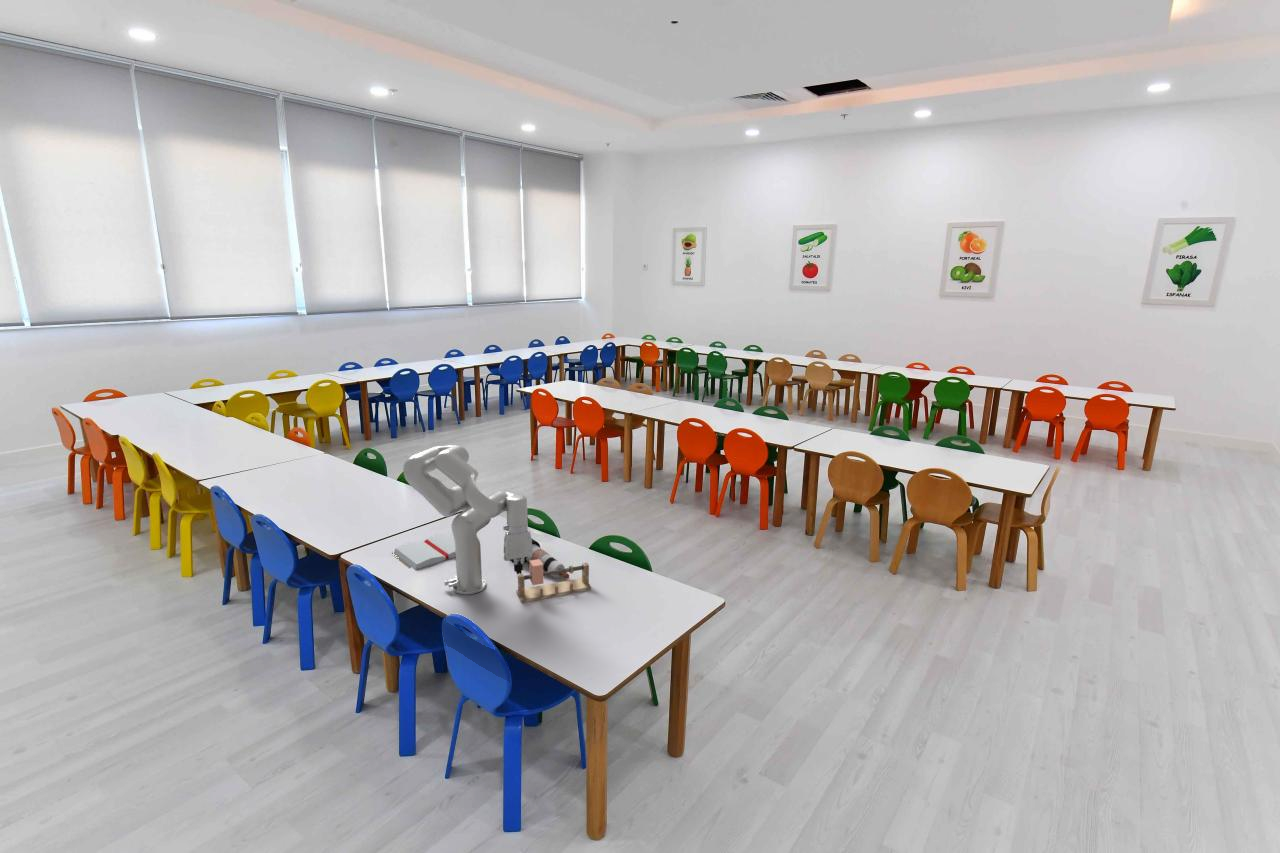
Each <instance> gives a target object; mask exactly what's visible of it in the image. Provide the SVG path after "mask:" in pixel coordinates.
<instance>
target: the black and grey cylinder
mask: <svg viewBox="0 0 1280 853" xmlns="http://www.w3.org/2000/svg"><path fill="white" fill-rule="evenodd" d="M531 539H532V550H533V552H532V556H531V557H529V558H527V559H526V560H525V561H524V563H525V564H529V561H531V560H537V559H540V560H541V562H542V564H543V572H548V571H554V570H559V569H565V565H564V564H563V563H561V562H560V561H558V560H557V559H556V558H554V557H553V556H551V555H550V553H548V552H546V550H544V549H542V548H541V544H540V543H539V542H538V541H537V540H536V539H534V538H532V537H531ZM551 576H552V577H554V578H557V579H558V578H560V577H562V578H564V579H566V580H568V579H569V578H570V573H569V572H566V573H561V574H555V575H551Z"/></svg>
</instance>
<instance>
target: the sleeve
mask: <svg viewBox="0 0 1280 853" xmlns="http://www.w3.org/2000/svg"><path fill="white" fill-rule="evenodd" d="M528 564H529V575H531V574H532V579H529V581H530V582H531V585H532V586H539V585H544V577H543V572H544V570H543V564H542V562H541V560H540V559H537V560H531V561H529V563H528Z"/></svg>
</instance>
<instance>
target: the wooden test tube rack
mask: <svg viewBox="0 0 1280 853" xmlns="http://www.w3.org/2000/svg"><path fill="white" fill-rule="evenodd" d="M564 568H565V567H564ZM577 571H581V577H580V578H573V579H569V580H568V579H567V580H562V581H559V582H553V583H548V584H540V585H534V586H532V587H531V586H530V587H526V586H525V580H526V581H527V580H530V579H532V574H531V575H530V574H527V575H525V574H523V573H522V574H517V589H516V591H515V592H516V595H517V596H518V599H519V601H520V603H527V602H533V601H537V600H541V599H548V598H549V599H550V598H553V597H559V596H563V595H569V594H574V593H579V592H584V591H591V590H592V586H591V584H590V578H589V577H590V565H589V563H588V562H582V563H581V565H577V566H573V565H569V566H568V567H566V568H565V569H559V570H554V571H548V572H546V571H543V578H544V577H547V576H552V575H555V574H561V573H569V575H570V574H574V572H577Z"/></svg>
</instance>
